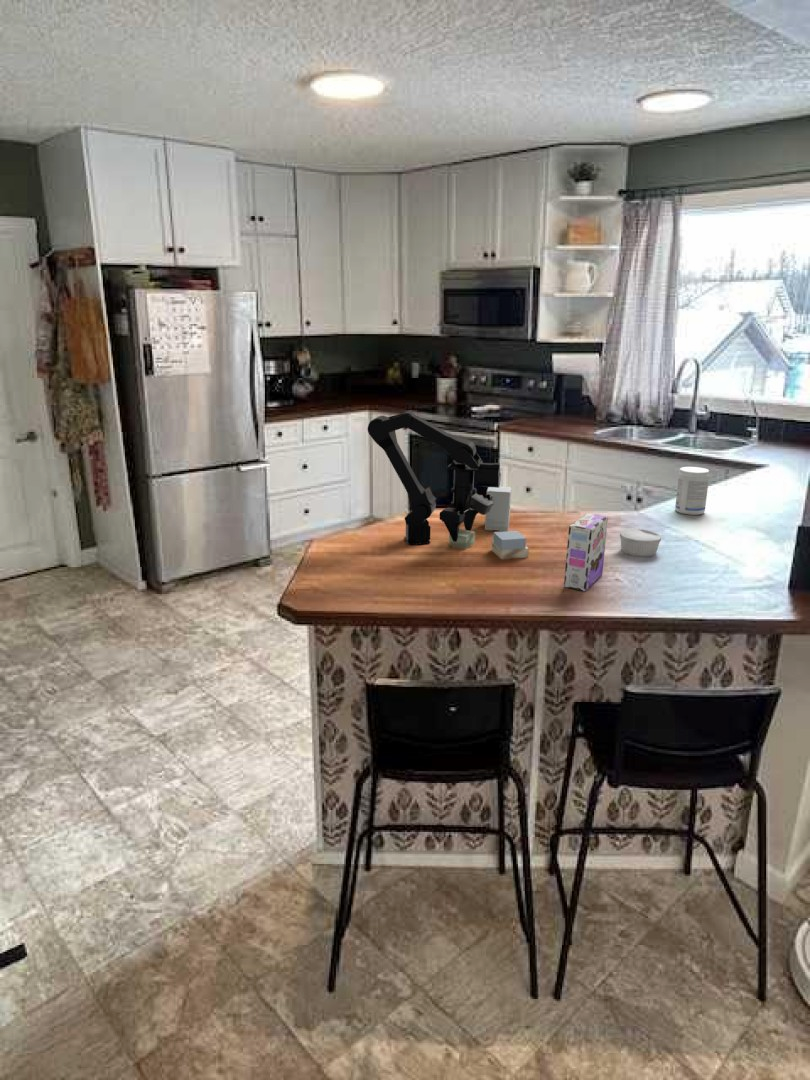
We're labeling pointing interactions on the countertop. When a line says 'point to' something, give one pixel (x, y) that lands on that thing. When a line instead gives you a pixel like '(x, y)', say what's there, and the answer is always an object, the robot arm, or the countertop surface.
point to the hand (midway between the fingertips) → (461, 537)
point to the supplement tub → (692, 490)
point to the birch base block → (510, 552)
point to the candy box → (585, 551)
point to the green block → (463, 539)
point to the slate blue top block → (509, 540)
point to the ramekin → (639, 542)
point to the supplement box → (499, 509)
